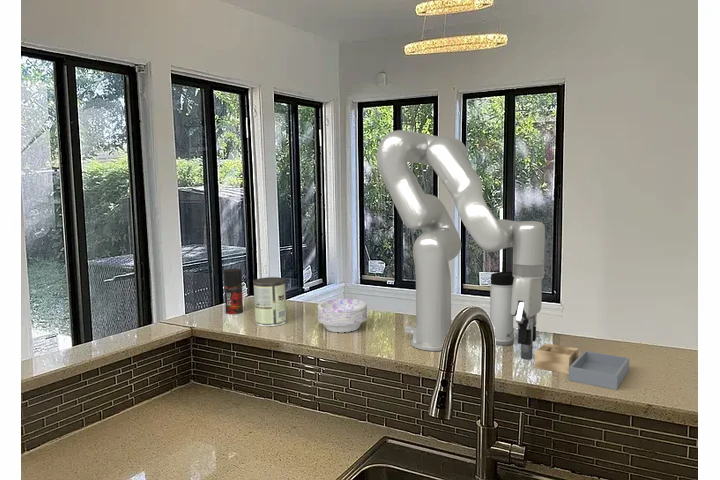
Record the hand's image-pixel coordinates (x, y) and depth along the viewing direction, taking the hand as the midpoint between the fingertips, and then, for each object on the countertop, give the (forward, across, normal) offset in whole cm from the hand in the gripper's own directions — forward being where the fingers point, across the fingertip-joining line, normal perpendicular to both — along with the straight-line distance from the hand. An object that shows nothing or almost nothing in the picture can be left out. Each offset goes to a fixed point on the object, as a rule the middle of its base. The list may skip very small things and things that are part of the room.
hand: (526, 341), depth 137 cm
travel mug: (+4, -9, -10) cm, 14 cm away
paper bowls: (+4, +4, -56) cm, 56 cm away
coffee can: (+4, +11, -80) cm, 81 cm away
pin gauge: (+4, 0, 0) cm, 4 cm away
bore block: (+4, +2, +8) cm, 9 cm away
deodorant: (+4, +8, -101) cm, 101 cm away
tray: (+4, +3, +18) cm, 19 cm away
